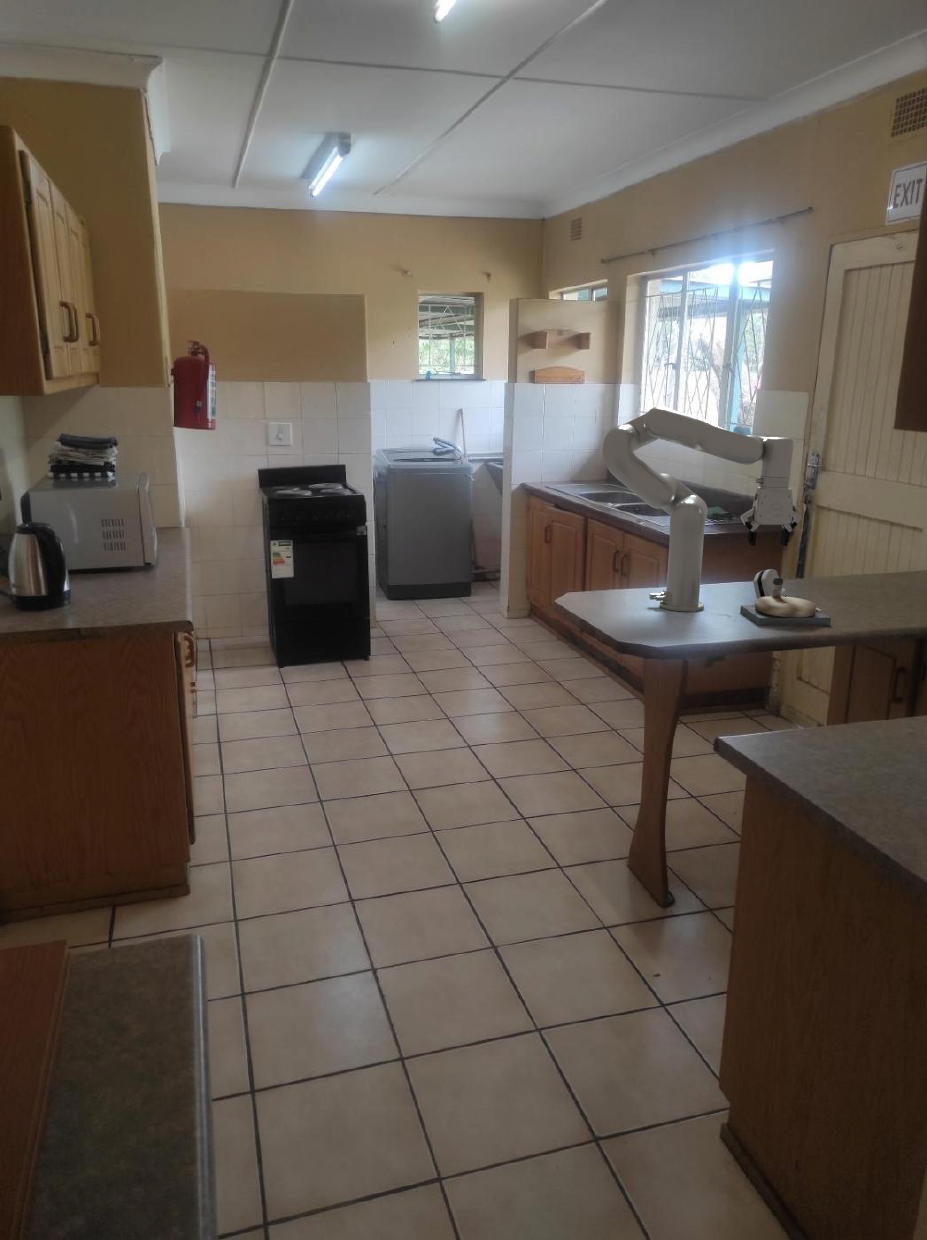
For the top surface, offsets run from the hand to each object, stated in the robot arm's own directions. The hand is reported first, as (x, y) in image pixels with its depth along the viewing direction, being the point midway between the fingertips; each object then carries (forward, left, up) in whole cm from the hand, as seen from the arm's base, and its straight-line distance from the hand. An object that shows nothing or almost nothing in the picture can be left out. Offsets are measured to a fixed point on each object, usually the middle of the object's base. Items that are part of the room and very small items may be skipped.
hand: (767, 544), depth 245 cm
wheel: (+4, -6, -17) cm, 19 cm away
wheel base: (+4, -6, -20) cm, 21 cm away
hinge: (+9, +18, -20) cm, 29 cm away
